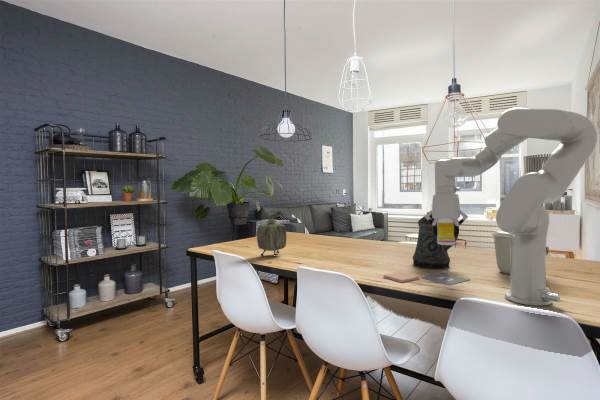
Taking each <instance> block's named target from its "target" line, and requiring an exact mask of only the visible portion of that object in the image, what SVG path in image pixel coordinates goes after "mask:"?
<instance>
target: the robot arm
mask: <svg viewBox="0 0 600 400" xmlns="http://www.w3.org/2000/svg"><path fill="white" fill-rule="evenodd" d="M496 126H497V127H496V128H495V129H494V130H492V131H490V132H489V133H488V134H487V135H486V136H485V137H484V143H485V148H484V149H482V151H480V152H478V153H477V154H475V155H474V156H472V157H469V156H468V157H466V156H465V157H464V156H458V157H457V156H456V157H452V158H449V159H446V158H445V159H438V160H436V161H435V162H434V194H433V195H432V201H431V202H432V203H431V210H430V211H428V212H429V213H428V214H427V213H426V214H425V215H424V216H425V218H426V219H427V220H428V221H429V222H430V223H431V224H432V225H433V234H435V236H437V221H438V219H442V218H448V219H452V220H454V222H455V237H457V234H458V235H460V225H462V224H463V223H464V222H465V221H466V220H467V219H468V217H469V216H468V215H467V214H466V213H464V211H462V209H461V206H460V198H459V194H458V193H457V192H460V190H461V189H460V188H461V187H458V186H457V185H456V178H475V177H477V176H480V175H481V174H483V173H485V172H486V171H488V170H490V169H491V168H493V167H494V166H495V165H496V164H497V163H498V162H499V161H500V160H501V159H502V157H503V155H504V154H506V153H507V152H509V151H510V150H512V149H513V148H515V147H517V146H519V144H521V143H523V142H525V141H527V140H528V139H538V140H548V141H556V142H560V143H559V145H558V147H557V148H556V149H554V150H553V152H552V153H550V155H549V157H548V158H547V160H546V162H545V163H544V165H543V166H542V167H541V169H539V171H531V172H527V173H525V174H522V175H521V176H520V177H518V179H517V180H515V182H514V183H513V184H512V186H511V188H510V189H509V191H508V192H507V194H506V196H505V197H504V199H503V201H502V203H501V204H500V206H499V207H498V210H497V212H496V215H495V220H496V221H495V222H496V225H497V226H498V228H499V230H502V231H504V232H506V233H510V234H513V235H512V239H511V271H510V274H509V275H510V283H509V285H510V288H509V289H510V290H508V291H506V292H505V293H504V298H505V299H507V300H509V301H510V302H513V303H515V304H516V303H517V304H522V305H526V306H537V307H538V306H539V307H543V306H549V305H551V304H552V302H555V303H560V301H561V296H560V294H558V293H555V292H554V293H552V292H551V291H550V288H549V287H547V286H546V285H547V282H546V278H547V277H546V275H547V273H546V272H547V270H546V269H547V264H546V263H547V259H546V257H547V237H548V231H549V226H550V215H549V212H548V210H547V209H546V208H545V206H543V204H544V205H545V204H551V203H555V202H557V201H559V200H560V199H562V197H563V196H564V195H565V193H566V191H568V188H569V187H570V186H571V184H572V182H573V181H574V180H575V179H576V177H577V176H578V174H579V172H580V171H581V169H582V168H583V166H585V164H586V162H587V161H588V159H589V158H590V157H591V155H592V154H593V152H594V150H595V148H596V146H597V142H598V132H597V128H596V127H595V125H594V124H593V122H592V121H591V120H590V119H589V118H588V117H587V116H585V115H582V114H580V113H579V112H578V113H577V112H573V111H567V110H563V109H557V108H556V109H555V108H530V107H529V108H528V107H527V108H526V107H525V108H524V107H511V108H509V109H506V110H505V111H504V112H502V113H501V114H500V116H499V117H498V119H497V125H496ZM431 214H432V218H434V221H433V220H432V219H431V218H430V217H429V216H430V215H431ZM461 216H462V218H461V219H460V217H461ZM459 219H460V220H459Z"/></svg>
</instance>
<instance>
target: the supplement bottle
mask: <svg viewBox="0 0 600 400" xmlns="http://www.w3.org/2000/svg"><path fill="white" fill-rule="evenodd" d="M455 225H456V224H455V222H454V220H452V219H448V218H442V219H438V221H437V243H438V244H440V245H453V246H454V245H455V244H456V242H455Z"/></svg>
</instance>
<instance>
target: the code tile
mask: <svg viewBox="0 0 600 400" xmlns="http://www.w3.org/2000/svg"><path fill="white" fill-rule="evenodd" d="M420 279H424V280H427V281H432V282H436V283H440V284H443V285H447V286H451V285H457V284H460V283H464V282H467V281H470V280H471V279H470V278H465V277H461V276H457V275H452V274H447V273H443V272H441V273H435V274H432V275H427V276H422V277H420Z"/></svg>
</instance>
